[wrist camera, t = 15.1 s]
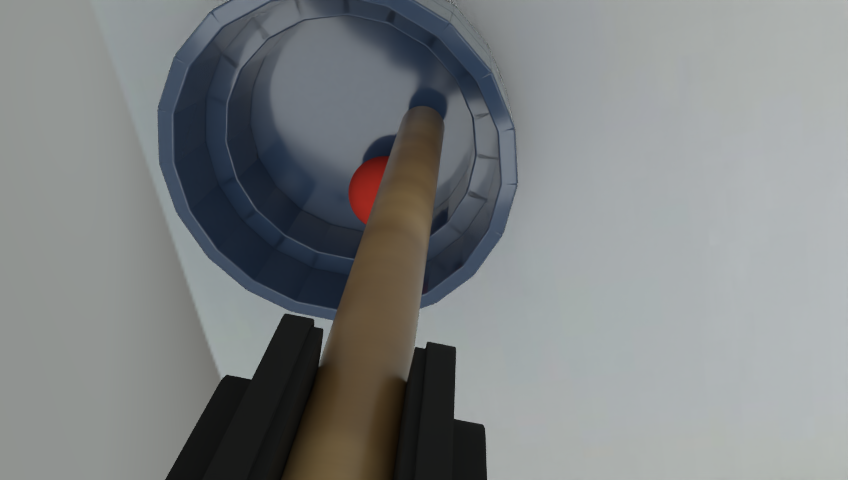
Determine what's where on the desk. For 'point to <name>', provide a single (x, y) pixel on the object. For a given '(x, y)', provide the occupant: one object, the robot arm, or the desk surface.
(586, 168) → the desk surface
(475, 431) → the robot arm
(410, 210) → the stick
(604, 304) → the desk surface
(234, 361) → the desk surface
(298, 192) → the mixing bowl
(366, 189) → the ball
